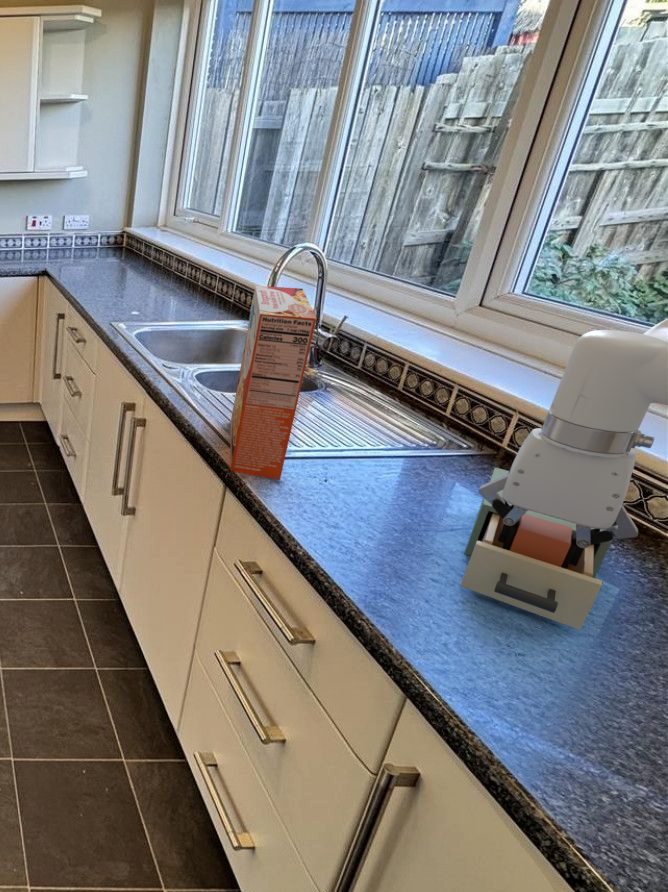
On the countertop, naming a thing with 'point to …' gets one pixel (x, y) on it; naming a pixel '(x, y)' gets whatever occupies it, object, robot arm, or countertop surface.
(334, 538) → the countertop surface
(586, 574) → the drawer
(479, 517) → the cabinet
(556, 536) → the block
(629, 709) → the countertop surface
